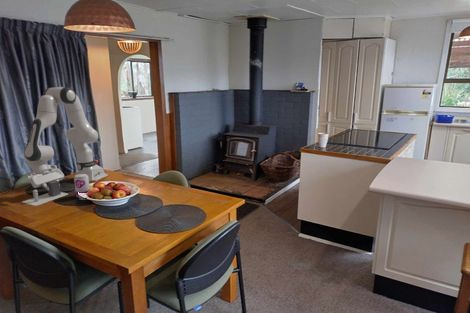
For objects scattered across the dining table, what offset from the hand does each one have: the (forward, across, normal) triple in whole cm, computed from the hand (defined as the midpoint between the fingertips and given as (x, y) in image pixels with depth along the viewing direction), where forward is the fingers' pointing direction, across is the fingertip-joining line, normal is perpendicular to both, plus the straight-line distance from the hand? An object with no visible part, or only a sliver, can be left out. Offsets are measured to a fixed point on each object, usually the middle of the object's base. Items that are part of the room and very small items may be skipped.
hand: (54, 188), depth 210 cm
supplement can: (+17, +7, -8) cm, 20 cm away
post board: (+4, -6, +5) cm, 9 cm away
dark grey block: (+3, 0, +4) cm, 5 cm away
